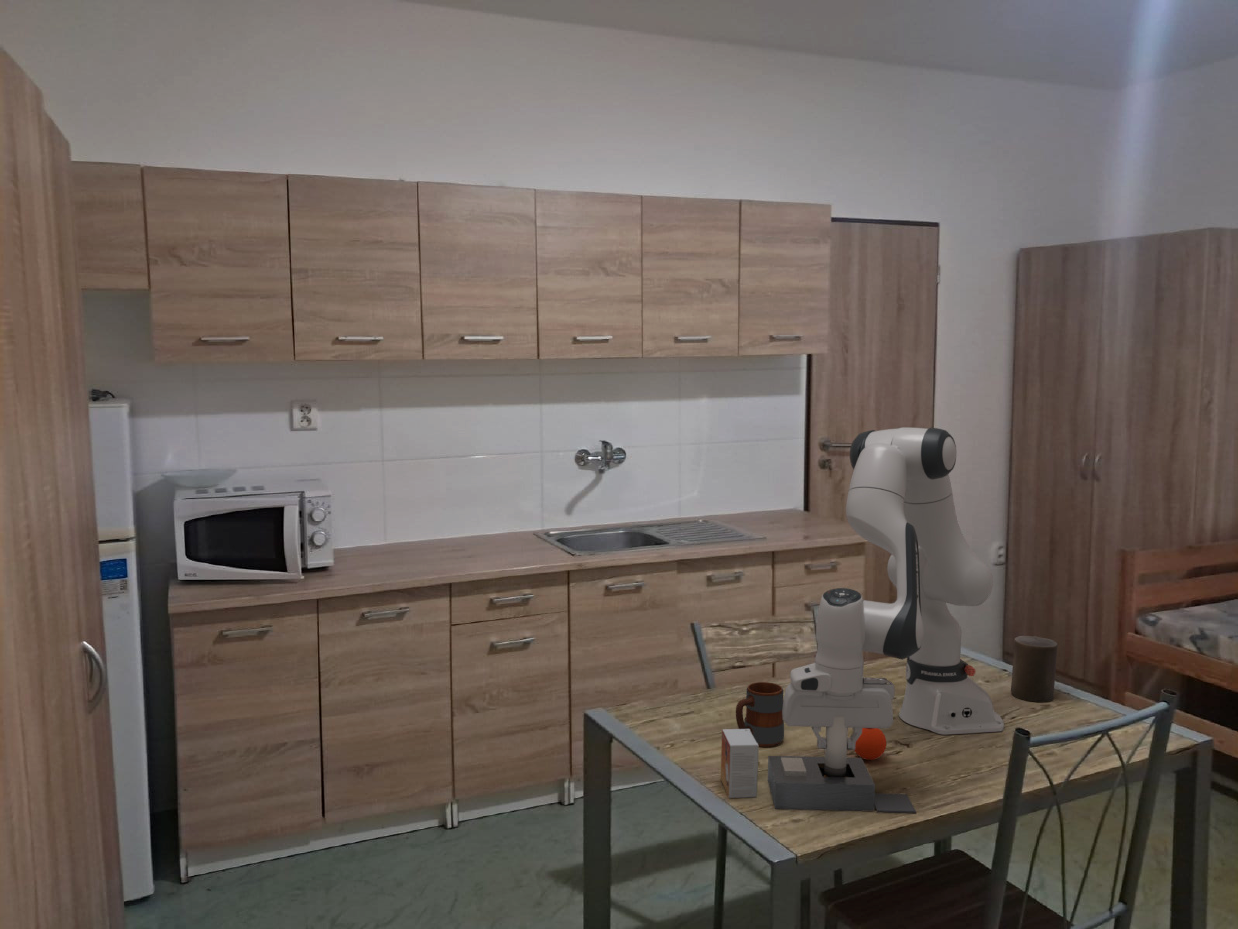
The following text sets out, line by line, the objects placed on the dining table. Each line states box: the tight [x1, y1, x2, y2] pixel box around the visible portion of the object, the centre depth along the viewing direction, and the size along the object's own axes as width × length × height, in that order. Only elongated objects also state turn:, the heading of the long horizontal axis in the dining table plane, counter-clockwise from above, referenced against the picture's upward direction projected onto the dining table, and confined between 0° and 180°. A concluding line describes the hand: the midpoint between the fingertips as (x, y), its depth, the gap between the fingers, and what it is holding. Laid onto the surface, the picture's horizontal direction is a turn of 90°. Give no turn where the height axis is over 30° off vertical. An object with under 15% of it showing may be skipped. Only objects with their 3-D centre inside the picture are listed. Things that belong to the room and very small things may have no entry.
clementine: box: [853, 728, 887, 761], centre depth 206 cm, size 8×7×7 cm
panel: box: [767, 755, 876, 812], centre depth 188 cm, size 18×12×6 cm, turn 88°
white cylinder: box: [824, 716, 849, 777], centre depth 187 cm, size 4×4×12 cm
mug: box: [735, 681, 785, 748], centre depth 213 cm, size 9×12×12 cm
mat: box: [874, 792, 917, 814], centre depth 185 cm, size 7×7×1 cm
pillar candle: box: [1010, 635, 1058, 704], centre depth 242 cm, size 10×10×15 cm
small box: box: [720, 728, 760, 799], centre depth 191 cm, size 8×6×10 cm
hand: (835, 748), depth 188 cm, fingers closed on white cylinder, 4 cm apart
